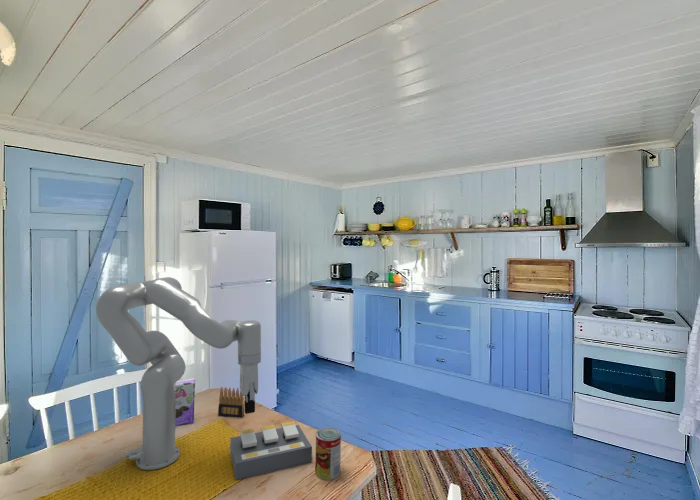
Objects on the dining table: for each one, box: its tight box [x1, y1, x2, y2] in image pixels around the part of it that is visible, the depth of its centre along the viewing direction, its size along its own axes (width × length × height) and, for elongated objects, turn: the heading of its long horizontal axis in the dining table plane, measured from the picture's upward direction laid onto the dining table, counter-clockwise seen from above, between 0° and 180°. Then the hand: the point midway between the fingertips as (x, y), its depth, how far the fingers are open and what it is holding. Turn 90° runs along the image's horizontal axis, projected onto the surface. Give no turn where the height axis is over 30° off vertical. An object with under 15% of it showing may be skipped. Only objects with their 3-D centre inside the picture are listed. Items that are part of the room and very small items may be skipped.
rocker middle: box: [260, 424, 278, 444], centre depth 119 cm, size 4×7×1 cm, turn 24°
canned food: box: [314, 427, 342, 481], centre depth 110 cm, size 8×8×12 cm
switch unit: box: [229, 424, 313, 481], centre depth 117 cm, size 24×16×6 cm, turn 114°
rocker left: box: [239, 428, 257, 448], centre depth 116 cm, size 4×7×1 cm, turn 24°
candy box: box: [174, 377, 196, 427], centre depth 140 cm, size 14×6×16 cm, turn 112°
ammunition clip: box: [217, 386, 245, 419], centre depth 146 cm, size 11×2×12 cm, turn 83°
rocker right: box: [280, 420, 299, 439], centre depth 121 cm, size 4×7×1 cm, turn 24°
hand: (249, 412), depth 118 cm, fingers closed
